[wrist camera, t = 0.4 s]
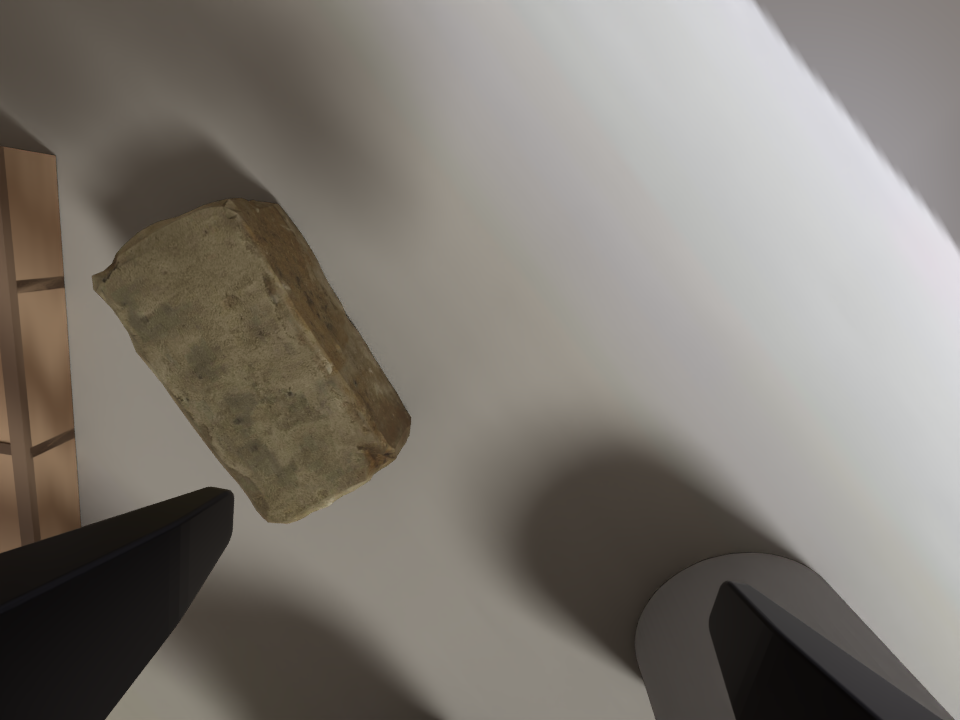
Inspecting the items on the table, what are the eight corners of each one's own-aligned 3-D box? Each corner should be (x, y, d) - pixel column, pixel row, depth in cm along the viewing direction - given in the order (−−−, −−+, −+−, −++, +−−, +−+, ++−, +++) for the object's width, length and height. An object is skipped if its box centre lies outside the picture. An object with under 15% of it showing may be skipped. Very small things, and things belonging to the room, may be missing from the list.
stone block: (320, 477, 22) (268, 545, 17) (166, 257, 20) (56, 264, 15) (426, 422, 21) (402, 477, 16) (277, 184, 19) (198, 166, 14)
